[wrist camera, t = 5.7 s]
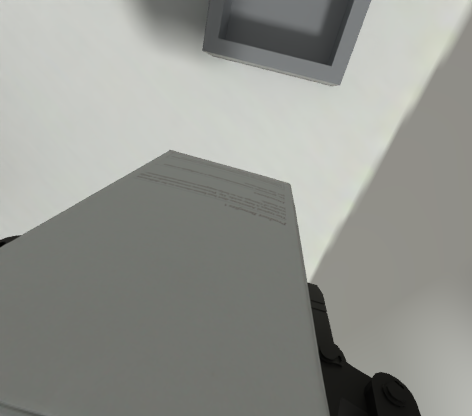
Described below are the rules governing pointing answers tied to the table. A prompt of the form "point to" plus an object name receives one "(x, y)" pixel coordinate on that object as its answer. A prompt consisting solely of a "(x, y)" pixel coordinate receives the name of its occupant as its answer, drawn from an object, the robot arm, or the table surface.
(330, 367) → the robot arm
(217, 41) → the box
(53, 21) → the table surface
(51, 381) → the supplement box
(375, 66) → the table surface
